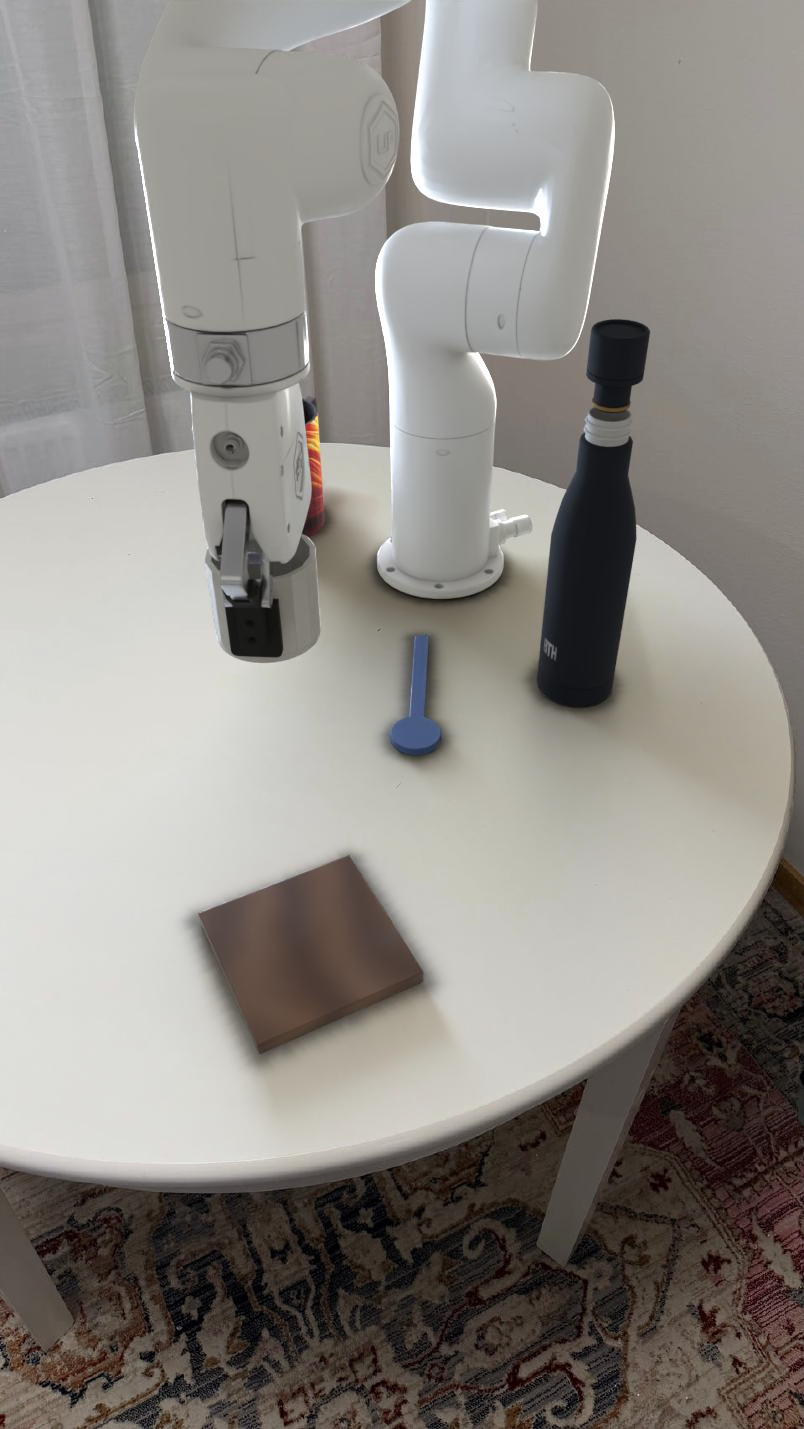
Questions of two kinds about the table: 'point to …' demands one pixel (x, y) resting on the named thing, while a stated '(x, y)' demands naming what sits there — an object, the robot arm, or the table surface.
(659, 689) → the table surface
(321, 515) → the mug
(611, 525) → the insulated water bottle
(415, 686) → the spoon
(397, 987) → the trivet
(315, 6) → the robot arm
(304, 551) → the pot
